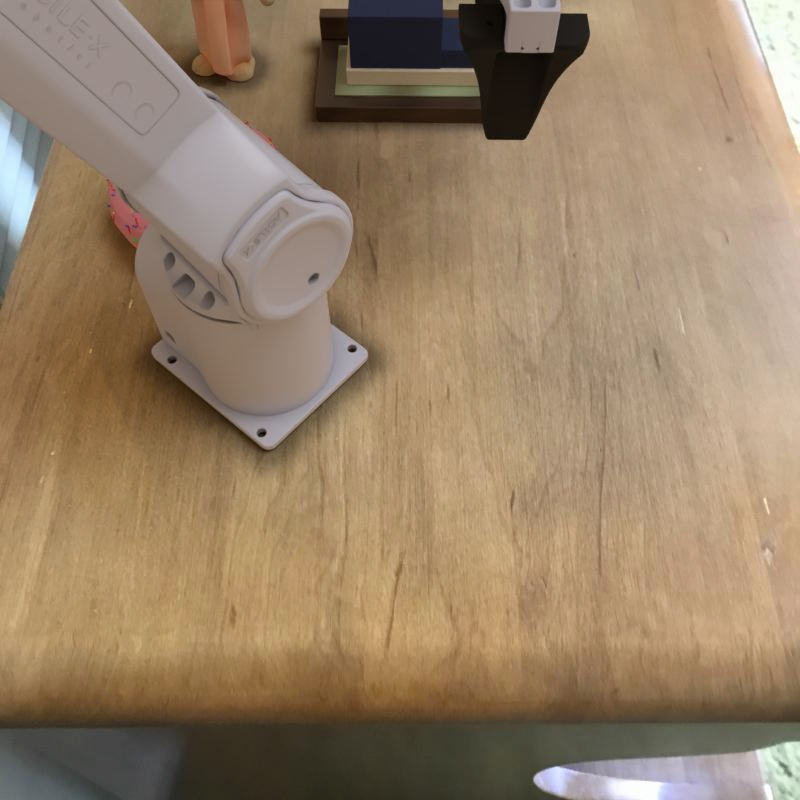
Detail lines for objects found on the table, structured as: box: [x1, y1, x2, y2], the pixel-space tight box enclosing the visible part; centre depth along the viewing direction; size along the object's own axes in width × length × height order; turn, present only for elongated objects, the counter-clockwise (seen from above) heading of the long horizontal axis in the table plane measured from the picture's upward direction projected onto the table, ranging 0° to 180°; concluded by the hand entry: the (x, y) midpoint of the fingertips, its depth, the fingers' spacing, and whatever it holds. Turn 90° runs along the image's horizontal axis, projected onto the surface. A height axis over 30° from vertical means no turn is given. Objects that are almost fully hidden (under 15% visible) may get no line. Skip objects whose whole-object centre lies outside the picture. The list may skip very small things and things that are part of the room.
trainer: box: [346, 0, 478, 86], centre depth 55 cm, size 9×4×5 cm, turn 89°
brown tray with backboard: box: [314, 8, 482, 123], centre depth 57 cm, size 13×8×3 cm, turn 89°
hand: (501, 84), depth 44 cm, fingers open, 7 cm apart
